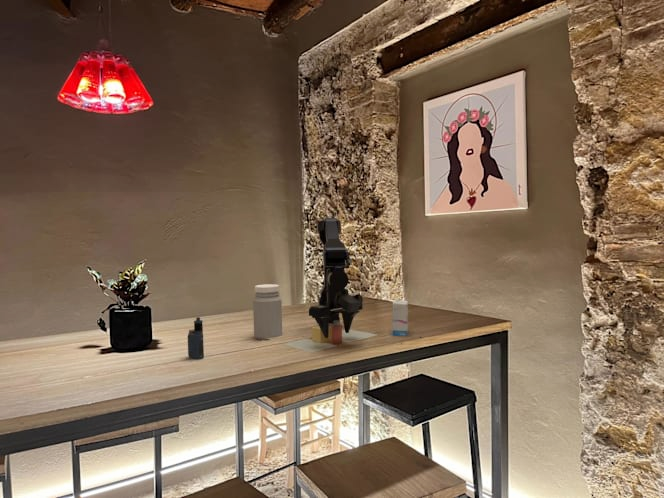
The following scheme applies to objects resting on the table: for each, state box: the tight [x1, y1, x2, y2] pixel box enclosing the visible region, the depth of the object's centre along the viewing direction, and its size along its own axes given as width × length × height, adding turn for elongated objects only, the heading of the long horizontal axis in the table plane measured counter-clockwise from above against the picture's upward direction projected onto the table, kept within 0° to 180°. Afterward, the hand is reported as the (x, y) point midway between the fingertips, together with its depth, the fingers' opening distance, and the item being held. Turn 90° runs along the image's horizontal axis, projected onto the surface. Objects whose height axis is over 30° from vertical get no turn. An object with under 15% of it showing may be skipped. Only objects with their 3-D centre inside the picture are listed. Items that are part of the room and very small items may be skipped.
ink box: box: [392, 299, 409, 337], centre depth 163 cm, size 9×5×12 cm, turn 168°
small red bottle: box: [332, 320, 343, 345], centre depth 151 cm, size 3×3×7 cm
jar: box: [252, 283, 283, 341], centre depth 165 cm, size 10×10×18 cm
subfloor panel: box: [280, 329, 377, 353], centre depth 156 cm, size 14×30×1 cm, turn 134°
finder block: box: [311, 324, 334, 343], centre depth 155 cm, size 4×8×5 cm, turn 134°
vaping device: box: [187, 316, 205, 360], centre depth 141 cm, size 3×5×12 cm, turn 58°
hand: (336, 335), depth 151 cm, fingers open, 9 cm apart
